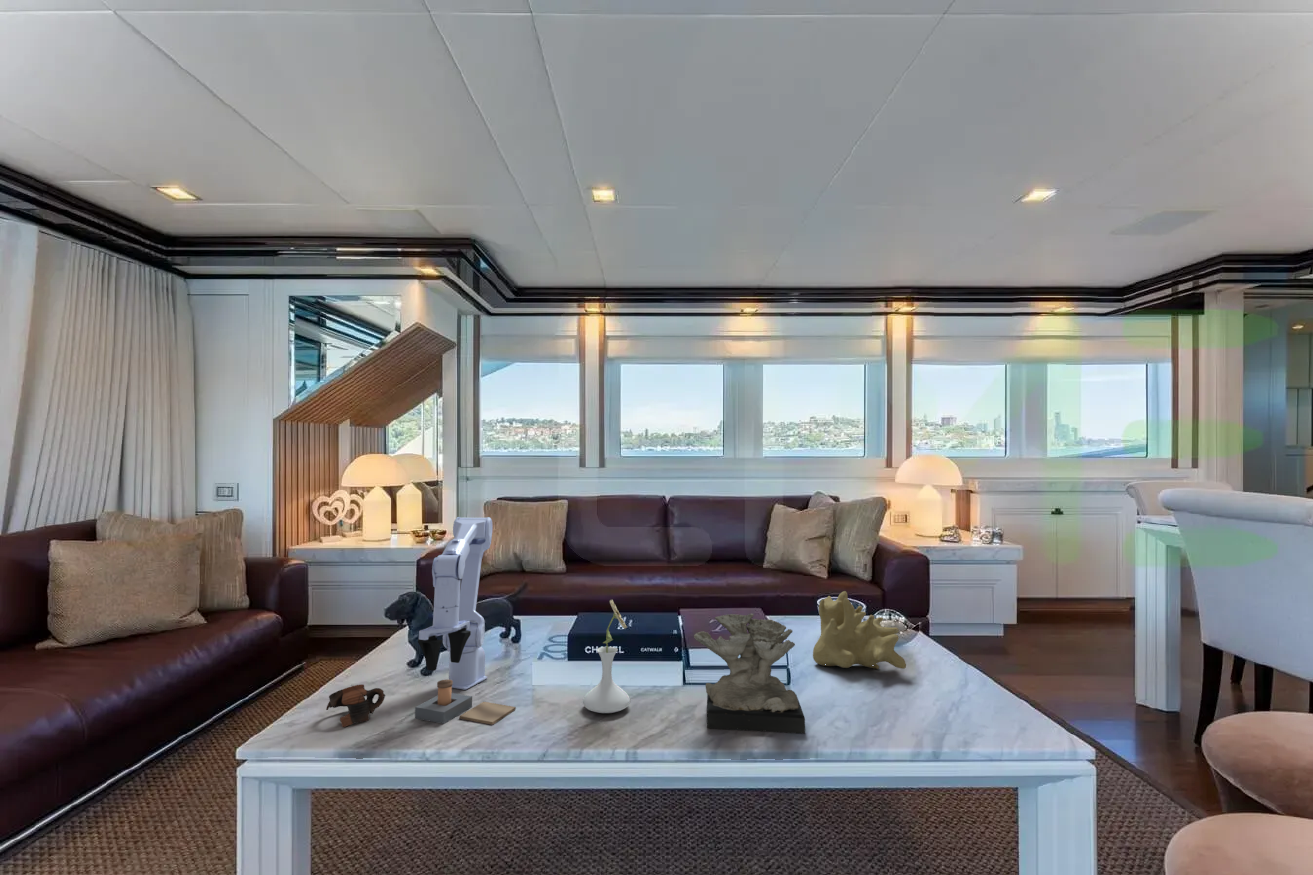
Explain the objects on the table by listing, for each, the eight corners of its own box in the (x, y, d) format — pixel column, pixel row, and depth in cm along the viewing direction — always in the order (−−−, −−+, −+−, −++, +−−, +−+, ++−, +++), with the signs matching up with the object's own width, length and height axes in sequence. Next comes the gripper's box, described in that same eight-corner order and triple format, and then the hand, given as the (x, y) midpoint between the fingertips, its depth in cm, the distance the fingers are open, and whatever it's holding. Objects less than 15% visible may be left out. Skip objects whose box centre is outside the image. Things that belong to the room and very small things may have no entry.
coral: (690, 727, 132) (691, 629, 133) (696, 693, 152) (696, 608, 153) (805, 735, 128) (805, 635, 129) (795, 699, 148) (795, 612, 150)
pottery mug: (326, 733, 127) (320, 695, 131) (335, 736, 135) (329, 700, 139) (386, 711, 132) (379, 674, 135) (392, 714, 140) (384, 680, 143)
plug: (443, 708, 140) (443, 678, 140) (454, 710, 139) (455, 680, 139) (433, 714, 137) (434, 683, 137) (445, 716, 136) (446, 685, 136)
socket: (444, 702, 144) (444, 691, 144) (471, 706, 141) (472, 696, 141) (414, 718, 135) (415, 706, 135) (443, 723, 132) (444, 712, 132)
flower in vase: (623, 720, 135) (624, 609, 136) (575, 715, 137) (577, 606, 138) (636, 698, 148) (637, 597, 149) (592, 694, 150) (594, 594, 151)
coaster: (483, 703, 143) (483, 701, 143) (515, 709, 140) (515, 706, 140) (459, 718, 135) (459, 715, 135) (492, 724, 132) (492, 722, 132)
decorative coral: (783, 614, 187) (848, 567, 185) (824, 663, 190) (887, 617, 188) (806, 659, 162) (881, 605, 159) (852, 714, 165) (926, 662, 163)
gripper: (437, 612, 132) (433, 675, 130) (480, 603, 145) (478, 660, 143) (413, 609, 135) (409, 672, 133) (458, 601, 148) (455, 657, 146)
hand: (443, 665), depth 138 cm, fingers open, 7 cm apart
